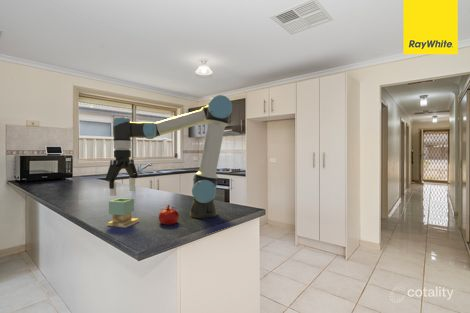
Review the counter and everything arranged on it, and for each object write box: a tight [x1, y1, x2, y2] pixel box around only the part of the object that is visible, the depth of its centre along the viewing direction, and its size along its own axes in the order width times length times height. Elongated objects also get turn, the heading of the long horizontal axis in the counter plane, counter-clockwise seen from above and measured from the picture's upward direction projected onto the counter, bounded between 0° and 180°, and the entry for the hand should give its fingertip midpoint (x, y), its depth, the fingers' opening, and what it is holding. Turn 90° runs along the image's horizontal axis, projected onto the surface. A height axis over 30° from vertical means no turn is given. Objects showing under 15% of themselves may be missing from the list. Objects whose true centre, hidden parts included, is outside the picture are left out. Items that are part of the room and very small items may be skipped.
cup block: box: [108, 197, 135, 215], centre depth 120 cm, size 8×8×6 cm
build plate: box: [107, 212, 140, 228], centre depth 120 cm, size 10×10×6 cm
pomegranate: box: [158, 204, 180, 226], centre depth 122 cm, size 10×10×9 cm
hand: (123, 193), depth 120 cm, fingers open, 13 cm apart
